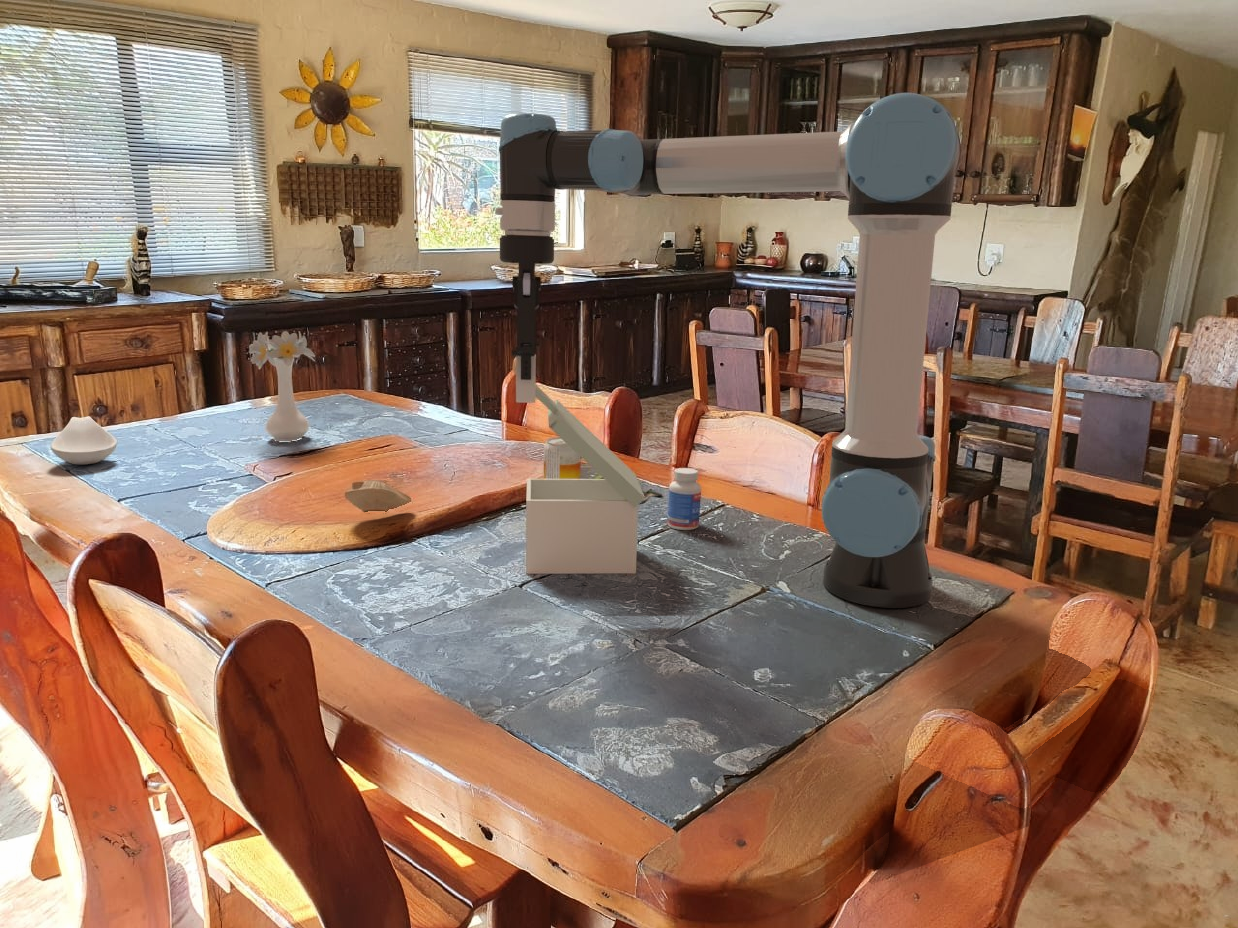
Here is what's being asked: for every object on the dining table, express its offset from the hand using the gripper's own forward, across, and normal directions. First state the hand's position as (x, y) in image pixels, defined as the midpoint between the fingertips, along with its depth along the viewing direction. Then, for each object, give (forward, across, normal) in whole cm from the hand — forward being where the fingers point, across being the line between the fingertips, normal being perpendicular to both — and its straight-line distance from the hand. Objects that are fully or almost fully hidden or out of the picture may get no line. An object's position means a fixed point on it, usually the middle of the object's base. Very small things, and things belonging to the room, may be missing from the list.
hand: (525, 396), depth 133 cm
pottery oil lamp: (+25, -22, -24) cm, 41 cm away
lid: (+14, 0, +16) cm, 21 cm away
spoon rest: (+26, -65, -92) cm, 115 cm away
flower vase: (+25, -79, -55) cm, 99 cm away
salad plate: (+25, -35, +18) cm, 47 cm away
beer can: (+25, -15, +6) cm, 30 cm away
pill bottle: (+25, -16, +27) cm, 40 cm away
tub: (+25, 0, +8) cm, 26 cm away
